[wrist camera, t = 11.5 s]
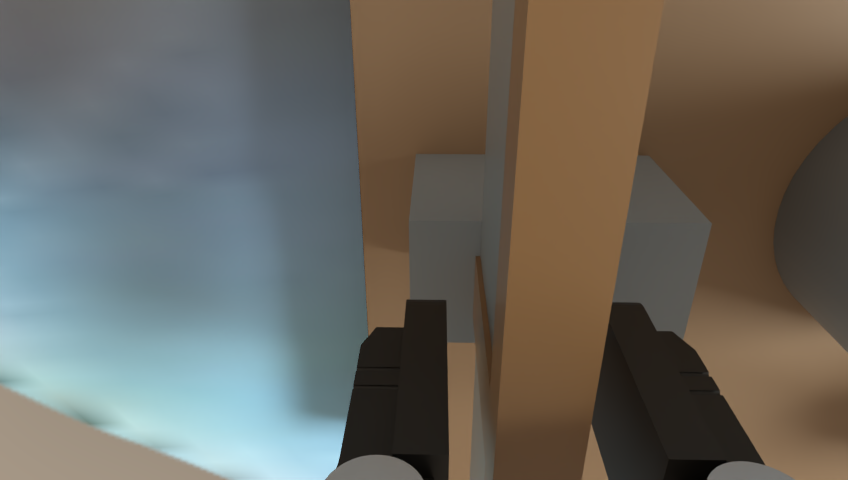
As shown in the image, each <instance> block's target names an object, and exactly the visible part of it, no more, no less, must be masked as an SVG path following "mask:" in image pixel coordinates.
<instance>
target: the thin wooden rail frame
mask: <svg viewBox="0 0 848 480" xmlns="http://www.w3.org/2000/svg"><path fill="white" fill-rule="evenodd" d="M663 5H664V0H493V3H492V24H491V44H490V65H489V86H488V107H487V128H486V149H485V169H484V190H483V211H482V232H481V253H480V256H475V278H474V301H473V324H474V336H475V348H476V357H475V378H474V399H473V420H472V440H471V461H470V480H582V475H583V469H584V463H585V457H586V451H587V446H588V440H589V434H590V428H591V422H592V417H593V411H594V405H595V399H596V393H597V388H598V382H599V376H600V370H601V364H602V359H603V353H604V347H605V341H606V335H607V330H608V324H609V318H610V312H611V306H612V301H613V295H614V289H615V283H616V277H617V272H618V266H619V260H620V254H621V248H622V243H623V237H624V231H625V225H626V219H627V214H628V208H629V202H630V196H631V190H632V185H633V179H634V173H635V167H636V161H637V156H638V150H639V144H640V138H641V132H642V127H643V121H644V115H645V109H646V103H647V98H648V92H649V86H650V80H651V75H652V69H653V63H654V57H655V51H656V46H657V40H658V34H659V28H660V22H661V17H662V11H663Z"/></svg>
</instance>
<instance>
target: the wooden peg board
mask: <svg viewBox="0 0 848 480" xmlns="http://www.w3.org/2000/svg"><path fill="white" fill-rule="evenodd" d="M492 3H493V0H350V11H351V29H352V47H353V66H354V84H355V102H356V120H357V139H358V157H359V175H360V194H361V212H362V230H363V248H364V267H365V285H366V303H367V321H368V336H369V335H370V334H371V333H372V332H373V330H374V329H375V328H376V327H404V319H405V308H406V300H407V299H413V300H446V303H447V359H448V416H449V480H470V461H471V440H472V420H473V399H474V378H475V357H476V348H475V336H474V324H473V301H474V278H475V256H480V253H481V232H482V211H483V190H484V169H485V149H486V128H487V107H488V86H489V65H490V44H491V24H492ZM612 302H637V303H641V304H642V305H643V306H644V308H645V310H646V312H647V314H648V315H649V317H650V319H651V321H652V323H653V325H654V327H655V328H656V330H657V331H672V332H674V333H675V334H676V335H677V336H679V337H680V338H681V339H682V340H684V341H685V342H686V343H687V344H689V345H690V346H691V347H692V348H694V349H695V350H696V352H697V353H698V355H699V357H700V358H701V360H702V361H703V363H704V365H705V366H706V368H707V370H708V371H709V377H712V378H713V380H714V381H715V383H716V385H717V386H718V388H719V389H720V395H723V396H724V398H725V399H726V401H727V403H728V404H729V406H730V408H731V409H732V411H733V412H734V414H735V416H736V417H737V419H738V421H739V422H740V424H741V426H742V427H743V429H744V431H745V432H746V434H747V435H748V437H749V439H750V440H751V442H752V444H753V445H754V447H755V449H756V450H757V452H758V454H759V455H760V457H761V458H762V460H763V462H764V463H765V465H766V466H769V467H772V468H774V469H776V470H779V471H781V472H783V473H785V474H787V475H789V476H790V477H792V478H793V479H795V480H848V0H664V5H663V11H662V17H661V22H660V28H659V34H658V40H657V46H656V51H655V57H654V63H653V69H652V75H651V80H650V86H649V92H648V98H647V103H646V109H645V115H644V121H643V127H642V132H641V138H640V144H639V150H638V156H637V161H636V167H635V173H634V179H633V185H632V190H631V196H630V202H629V208H628V214H627V219H626V225H625V231H624V237H623V243H622V248H621V254H620V260H619V266H618V272H617V277H616V283H615V289H614V295H613V301H612ZM582 480H608V476H607V473H606V470H605V467H604V463H603V460H602V457H601V454H600V450H599V447H598V444H597V441H596V437H595V434H594V431H593V428H592V424H591V428H590V434H589V440H588V446H587V451H586V457H585V463H584V469H583V475H582Z"/></svg>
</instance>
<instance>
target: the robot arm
mask: <svg viewBox="0 0 848 480" xmlns="http://www.w3.org/2000/svg"><path fill="white" fill-rule="evenodd" d="M591 424H592V428H593V431H594V434H595V437H596V441H597V444H598V447H599V450H600V454H601V457H602V460H603V463H604V467H605V470H606V473H607V476H608V480H795V479H793V478H792V477H790V476H789V475H787V474H785V473H783V472H781V471H779V470H776V469H774V468H772V467H769V466H766V465H765V463H764V462H763V460H762V458H761V457H760V455H759V454H758V452H757V450H756V449H755V447H754V445H753V444H752V442H751V440H750V439H749V437H748V435H747V434H746V432H745V431H744V429H743V427H742V426H741V424H740V422H739V421H738V419H737V417H736V416H735V414H734V412H733V411H732V409H731V408H730V406H729V404H728V403H727V401H726V399H725V398H724V396H723V395H720V389H719V388H718V386H717V385H716V383H715V381H714V380H713V378H712V377H709V371H708V370H707V368H706V366H705V365H704V363H703V361H702V360H701V358H700V357H699V355H698V353H697V352H696V350H695V349H694V348H692V347H691V346H690V345H689V344H687V343H686V342H685V341H684V340H682V339H681V338H680V337H679V336H677V335H676V334H675V333H674V332H672V331H657V330H656V328H655V327H654V325H653V323H652V321H651V319H650V317H649V315H648V314H647V312H646V310H645V308H644V306H643V305H642V304H641V303H637V302H612V306H611V312H610V318H609V324H608V330H607V335H606V341H605V347H604V353H603V359H602V364H601V370H600V376H599V382H598V388H597V393H596V399H595V405H594V411H593V417H592V422H591ZM325 480H449V416H448V359H447V303H446V300H413V299H407V300H406V308H405V319H404V327H376V328H375V329H374V330H373V332H372V333H371V334H370V335H369V336H368V338H367V339H366V340H365V341H364V342H363V343H362V345H361V348H360V354H359V359H358V364H357V371H356V375H355V380H354V389H353V390H352V396H351V401H350V406H349V411H348V417H347V422H346V427H345V433H344V438H343V443H342V448H341V454H340V459H339V462H338V466H337V468H336V469H335V470H334V471H333V472H332V473H330V475H329V476H328V477H327V478H326V479H325Z"/></svg>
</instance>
